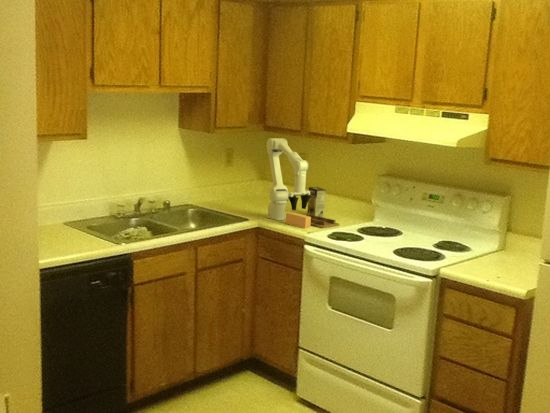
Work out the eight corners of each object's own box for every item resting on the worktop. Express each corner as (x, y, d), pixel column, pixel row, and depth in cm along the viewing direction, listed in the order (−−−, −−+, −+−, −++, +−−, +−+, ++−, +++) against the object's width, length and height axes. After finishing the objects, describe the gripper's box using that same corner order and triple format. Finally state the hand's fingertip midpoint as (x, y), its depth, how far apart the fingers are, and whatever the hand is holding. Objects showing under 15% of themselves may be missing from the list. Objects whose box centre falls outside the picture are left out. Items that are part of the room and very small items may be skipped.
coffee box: (306, 215, 404) (308, 187, 401) (316, 214, 407) (318, 186, 404) (314, 218, 396) (316, 189, 394) (324, 217, 399) (326, 189, 396)
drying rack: (291, 221, 385) (291, 215, 384) (308, 218, 395) (309, 213, 394) (322, 228, 370) (322, 222, 369) (339, 225, 380) (339, 220, 379)
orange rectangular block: (285, 224, 377) (286, 212, 376) (290, 223, 380) (291, 212, 379) (305, 228, 368) (305, 217, 367) (310, 228, 370) (310, 216, 369)
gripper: (296, 185, 362) (295, 211, 364) (315, 183, 372) (313, 209, 375) (286, 183, 367) (285, 209, 369) (305, 182, 377) (303, 207, 379)
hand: (298, 209), depth 372 cm, fingers open, 7 cm apart
